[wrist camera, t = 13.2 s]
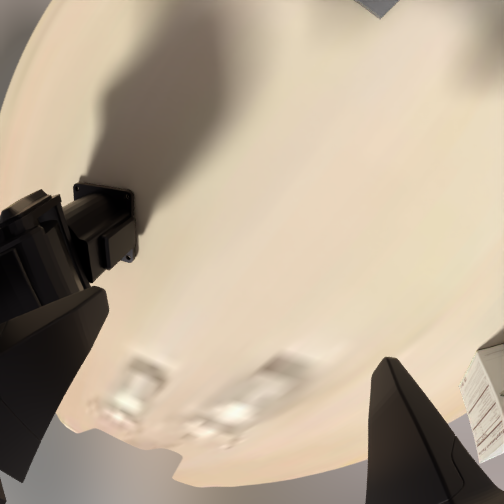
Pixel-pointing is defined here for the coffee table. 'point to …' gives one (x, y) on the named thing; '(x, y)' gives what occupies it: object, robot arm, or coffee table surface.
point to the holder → (377, 6)
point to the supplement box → (486, 400)
